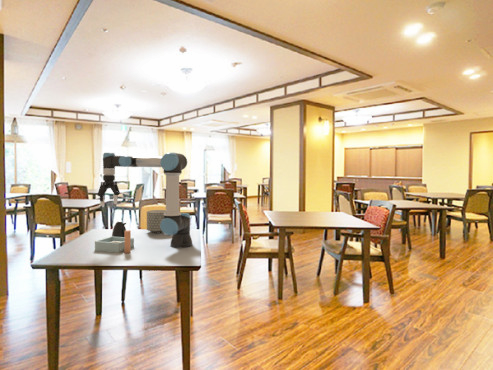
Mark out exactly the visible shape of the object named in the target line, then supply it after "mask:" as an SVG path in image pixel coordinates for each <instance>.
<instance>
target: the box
mask: <svg viewBox="0 0 493 370" xmlns="http://www.w3.org/2000/svg"><path fill="white" fill-rule="evenodd" d="M134 241H135V238H134V237H131V249H133V248H135V242H134ZM94 251H97V252H106V253H107V252H108V253H116V254H117V253H118V254H119V253H122V252H125V237H113V236H112V235H111V236H109V237H105V238H102V239H98V240H95V241H94Z"/></svg>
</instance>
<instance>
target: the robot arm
mask: <svg viewBox="0 0 493 370" xmlns="http://www.w3.org/2000/svg"><path fill="white" fill-rule="evenodd" d="M187 165H188V158H187V157H186V156H185V155H184V154H182V153H177V152H167V153H164V154H163V155H162V156H130V155H129V156H128V155H116V154H115V152H104V153H103V154H102V166H103V167H102V173H103V175H102V180H103V181H101V182H100V186H99V189H98V192H97V196H98V197H99V205H100V207H105V194H106V192H107V191H108V189H110V190H111V191H112V192H113V205H118V199H119V198H118V196H119V195H120V194H121V193H120V190H119V186H118V181H115V180H116V176H115V175H116V167H121V168H125V167H126V168H162V169H163V174H164V175H165V210H166V212H165V213H164V214H163V220H162V221H161V224H160V228H161V230H162V232H163V233H162V234H164V235H167V236H172V237H171V240H170V247H172V248H178V247H182V248H188V246H189V247H191V245H192V246H193V240H192V237H191V216H190V213H187V212H186V213H185V212H180V176H181V175H182V171H183V170H184V169H185V168H186V167H187Z"/></svg>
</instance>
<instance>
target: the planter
mask: <svg viewBox="0 0 493 370" xmlns="http://www.w3.org/2000/svg"><path fill="white" fill-rule="evenodd" d="M165 212H166V209H152V210H147V211H146V230H147V231H148V232H151V233H153V234H164V233H163V232H162V230H161V228H160V224H161V221H162V220H163V214H164V213H165Z"/></svg>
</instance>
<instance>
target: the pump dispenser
mask: <svg viewBox="0 0 493 370" xmlns="http://www.w3.org/2000/svg"><path fill="white" fill-rule="evenodd" d="M125 225H127V222H122V221H117V222H116V223H115V224H114V227H112V228H113V229H112V233H111V236H113V237H125V231H127V229H126V226H125Z"/></svg>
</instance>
